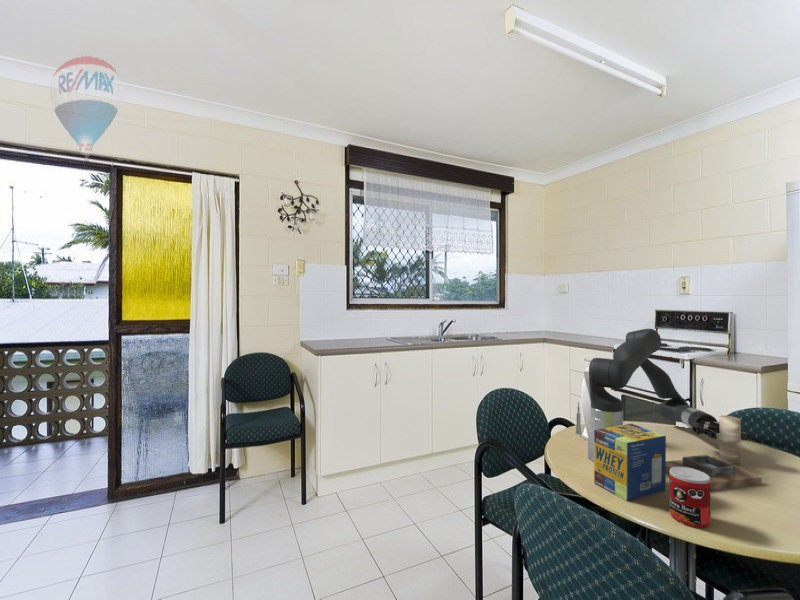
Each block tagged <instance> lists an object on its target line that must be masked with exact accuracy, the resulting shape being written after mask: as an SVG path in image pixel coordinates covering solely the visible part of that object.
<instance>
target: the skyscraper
mask: <svg viewBox="0 0 800 600" xmlns="http://www.w3.org/2000/svg"><path fill="white" fill-rule="evenodd" d="M582 375H583V381H582V385H581V391H580V394H581V395H580V402H579V401H578V402H577V413H576V426H575V429H576V431H575V435H577V436H578V435H579V436H578V437H580V438H581V437H582V439H583V440H584V439H585V440H584V441H588V430H589V429H591V401H590V385H589V366H587V368H586V369H583V370H582ZM580 405H581V410H580ZM580 411H581V412H582V413H581V412H580ZM581 415H582V418H583V425H584V426H583V429H581V428H582V424H581V423H582V422H581ZM585 437H586V438H585ZM586 439H587V440H586Z"/></svg>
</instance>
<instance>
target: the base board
mask: <svg viewBox="0 0 800 600" xmlns="http://www.w3.org/2000/svg"><path fill="white" fill-rule="evenodd" d="M672 467H687V468H692V469H696V470H699V471H701V472H704V473H705V474H707V475H708V476H709V477H710V484H711V491H717V490H724V489H732V488H733V489H734V488H742V487H746V486H748V487H750V486H757V485H762V482H763V481H762V480H763V478H762V477H763V476H760V475H758V474H755V473H753V472H750V471H747V469H746V470H745V469H743V468H740V467H738V466H736V465H734V464H729V463H726V462H724V461H721V460H720V459H719V458H716V457H714V456H710V455H708V454H700V455H692V456H691V455H690V456H683V457H682V459H678V460H668V461H666V474H669V471H670V468H672Z"/></svg>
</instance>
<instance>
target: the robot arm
mask: <svg viewBox="0 0 800 600" xmlns="http://www.w3.org/2000/svg"><path fill="white" fill-rule="evenodd" d="M661 345H662V339H661V335H660V334H659V332H658V331H657V330H655V329H654V328H644V329H638V330H633V331H629V332H626V334H625V342H623V343H621V344H620V345H618V346H617V347H616V348H615V350H614V351H613V354H612V358H613V359H612V358H603V357H593V358H591V360H590V361H589V385H590V401H591V429H589V430H588V440H587V458H588V459H589V460H591V461H592V462H594V430H598V429H604V428H609V427H615V426H621V425H624V402H623V401H622V399H620V398H619V397H616V396H614V395H612V394H611V393H610V392H608V391H607V389H606V388H608V389H613V390H614V389H615V390H621V389H623V388H625V387H626V386H627V385H628V383H629V381H631V378H632V376H633V374H634V373H635V372H636V370H637V369H638V368H641V369H642V371H643V372H644V373H645V375H646V377H647V379H648V381H649V383H650V384H651V386H652V388H653V391H654V392H655V395H656V396H657V397H658V398H659V399H663V400H664V399H665V401H662V402H660V403H659V404H658V406H657V410H658V412H659V414H660V415H661V416H662V417H663V418H664V419H665V420H668V421H672V422H675V423H676V422H677V423H682V424H684V425H686V427H688V430H690V431H691V432H693V433H694V434H695V435H698V436H701V435H702V436H705V437H706V436H707V437H709V438H711V439H713V440H717V438H718V435H719V420H717V418H716V417H715V416H714V415H712V414H709V413H707V412H705V411H703V410H700V409H698V408H694V407H693V406H691V405H689V403H688V402H687V401H686V400H685V399H684V397H682V395H680V393H679V392H678V391H677V389H676V388H675V386H674V383H673V381H672V379H671V377H670V375H669V374H668V373H667V372H666V371H665V370H664V369H663V368H661V367H659V366H658V365H656V364H655V363H654V362H653V361H651V360H650V359H649V357H650V356H651V355H652V354H654V353H656V352H658V351H659V350H660V348H661ZM747 440H748V435H747V434H746V433H745V429H744V428H743V427H741V441H745V442H746V441H747Z"/></svg>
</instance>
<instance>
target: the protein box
mask: <svg viewBox="0 0 800 600" xmlns="http://www.w3.org/2000/svg"><path fill="white" fill-rule="evenodd" d="M666 441H667V436H666V435H665V434H662V433H659V432H656V431H654V430H650V429H648V428H645V427H642V426H639V425H636V424H633V423H628V424H623V425H621V426H615V427H609V428H604V429H598V430H594V461H593V464H594V467H593V468H594V470H593V471H594V473H593V474H594V475H593V476H594V477H593V478H594V481H593V482H594V484H595V485H597V486H599V487H600V488H603V490H606V491H608V492H609V493H611V494H613V495H615V496H616V497H619V498H620V499H622V500H624V501H625V502H629V501H632V499H633V500H636V499H639V498H643V497H644V498H645V497H647V495H648V496H650V495H654V494H659V493H663V492H665V491H666V490H667V489H666V487H667V486H666V483H667V482H666V478H667V477H666V475H667V472H666V460H667V456H666V453H667V452H666V449H667V448H666V447H667V446H666V445H667V444H666V443H667V442H666Z"/></svg>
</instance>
